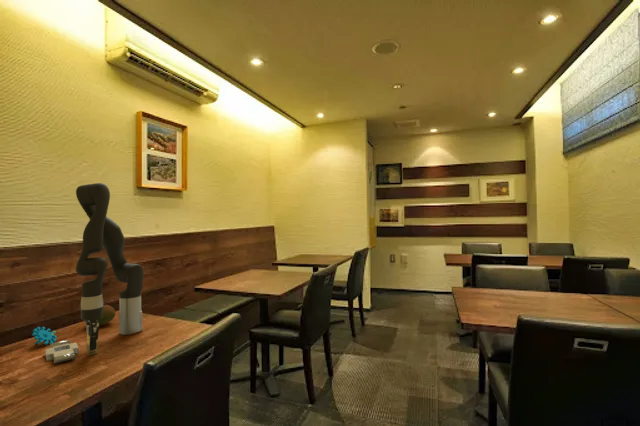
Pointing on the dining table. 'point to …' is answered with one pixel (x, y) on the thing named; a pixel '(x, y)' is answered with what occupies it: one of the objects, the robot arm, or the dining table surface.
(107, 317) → the fruit
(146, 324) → the dining table surface
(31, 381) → the dining table surface
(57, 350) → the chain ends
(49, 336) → the gear
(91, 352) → the pin
